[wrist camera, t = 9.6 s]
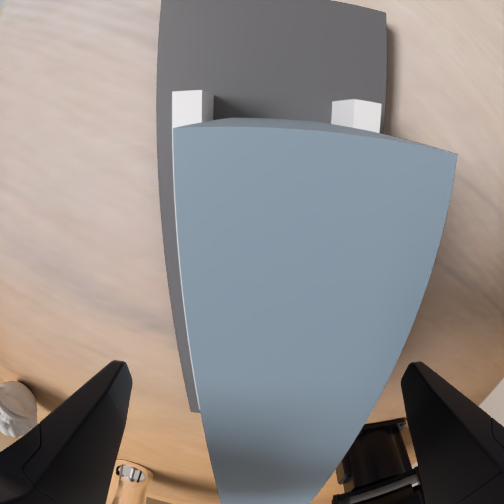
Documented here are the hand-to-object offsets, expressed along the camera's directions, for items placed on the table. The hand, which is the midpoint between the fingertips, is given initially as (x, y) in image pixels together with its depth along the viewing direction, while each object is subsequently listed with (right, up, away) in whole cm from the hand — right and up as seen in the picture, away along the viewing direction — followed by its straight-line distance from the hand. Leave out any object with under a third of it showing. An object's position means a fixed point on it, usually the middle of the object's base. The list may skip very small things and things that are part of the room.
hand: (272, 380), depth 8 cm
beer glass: (-17, -25, +22) cm, 38 cm away
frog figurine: (-25, -11, +15) cm, 31 cm away
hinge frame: (0, +4, +8) cm, 8 cm away
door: (0, +3, +7) cm, 7 cm away
